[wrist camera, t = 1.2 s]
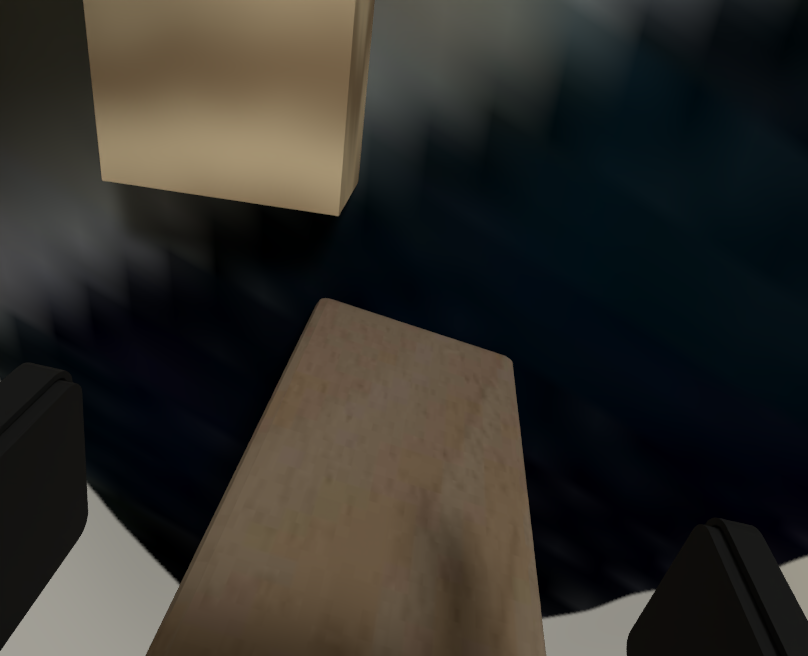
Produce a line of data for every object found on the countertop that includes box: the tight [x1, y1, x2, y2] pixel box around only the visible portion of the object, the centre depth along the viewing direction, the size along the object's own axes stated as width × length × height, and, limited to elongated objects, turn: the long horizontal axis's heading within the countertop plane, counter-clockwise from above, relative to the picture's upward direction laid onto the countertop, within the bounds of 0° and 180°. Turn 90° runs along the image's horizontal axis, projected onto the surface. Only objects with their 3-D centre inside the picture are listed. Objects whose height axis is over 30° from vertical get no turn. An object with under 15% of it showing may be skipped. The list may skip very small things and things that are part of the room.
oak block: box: [83, 0, 375, 216], centre depth 23 cm, size 10×9×5 cm
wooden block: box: [146, 298, 546, 656], centre depth 24 cm, size 10×10×20 cm
